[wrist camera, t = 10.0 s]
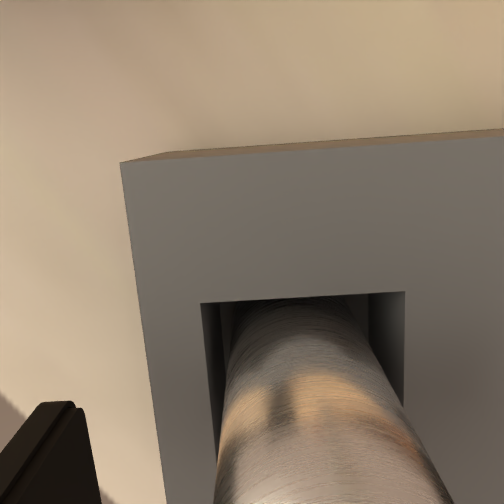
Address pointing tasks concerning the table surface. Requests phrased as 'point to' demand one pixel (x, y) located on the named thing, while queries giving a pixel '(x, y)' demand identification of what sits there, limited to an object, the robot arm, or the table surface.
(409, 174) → the hole block
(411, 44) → the table surface
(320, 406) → the steel pin
